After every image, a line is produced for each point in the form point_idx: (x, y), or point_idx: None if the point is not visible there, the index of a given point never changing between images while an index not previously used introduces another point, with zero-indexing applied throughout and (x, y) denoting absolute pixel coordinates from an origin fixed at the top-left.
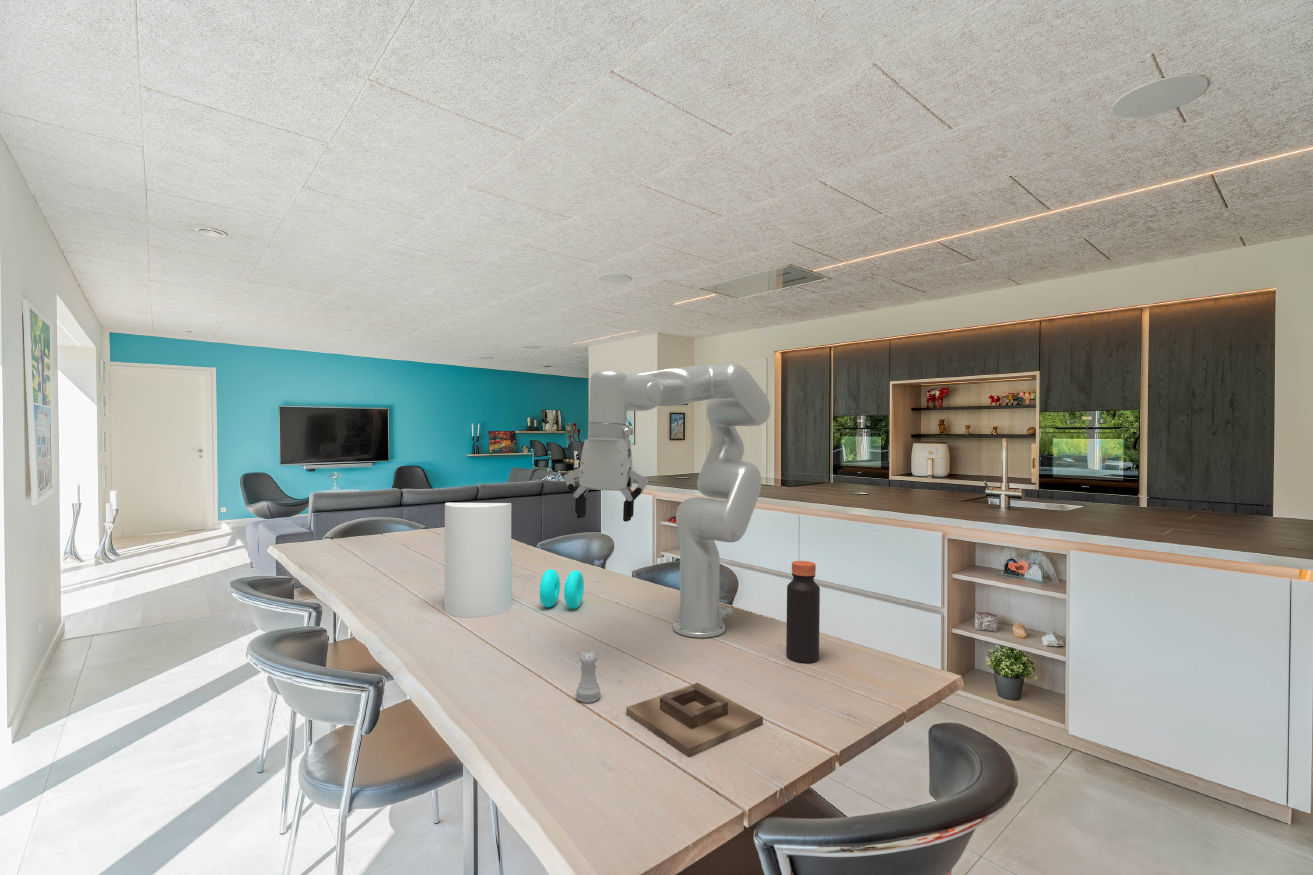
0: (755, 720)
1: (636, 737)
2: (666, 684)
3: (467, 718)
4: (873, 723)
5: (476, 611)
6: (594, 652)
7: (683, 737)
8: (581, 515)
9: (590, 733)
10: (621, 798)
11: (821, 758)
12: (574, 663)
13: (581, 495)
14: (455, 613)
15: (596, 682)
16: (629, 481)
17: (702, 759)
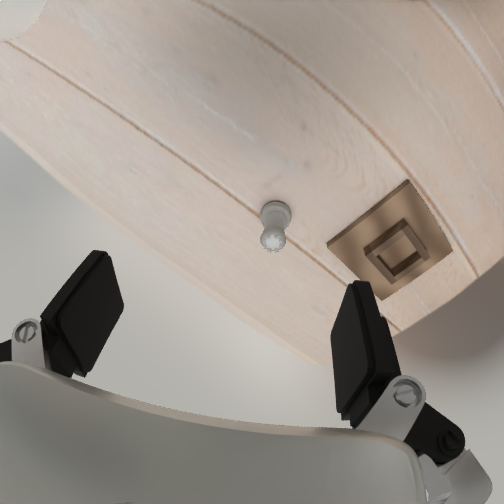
0: (445, 256)
1: (339, 277)
2: (370, 168)
3: (175, 264)
4: None
5: (26, 26)
6: (280, 240)
7: (380, 288)
8: (117, 302)
9: (296, 276)
10: None
11: (466, 285)
12: (222, 116)
13: (70, 374)
14: (12, 39)
15: (285, 222)
16: (403, 496)
17: (389, 297)
